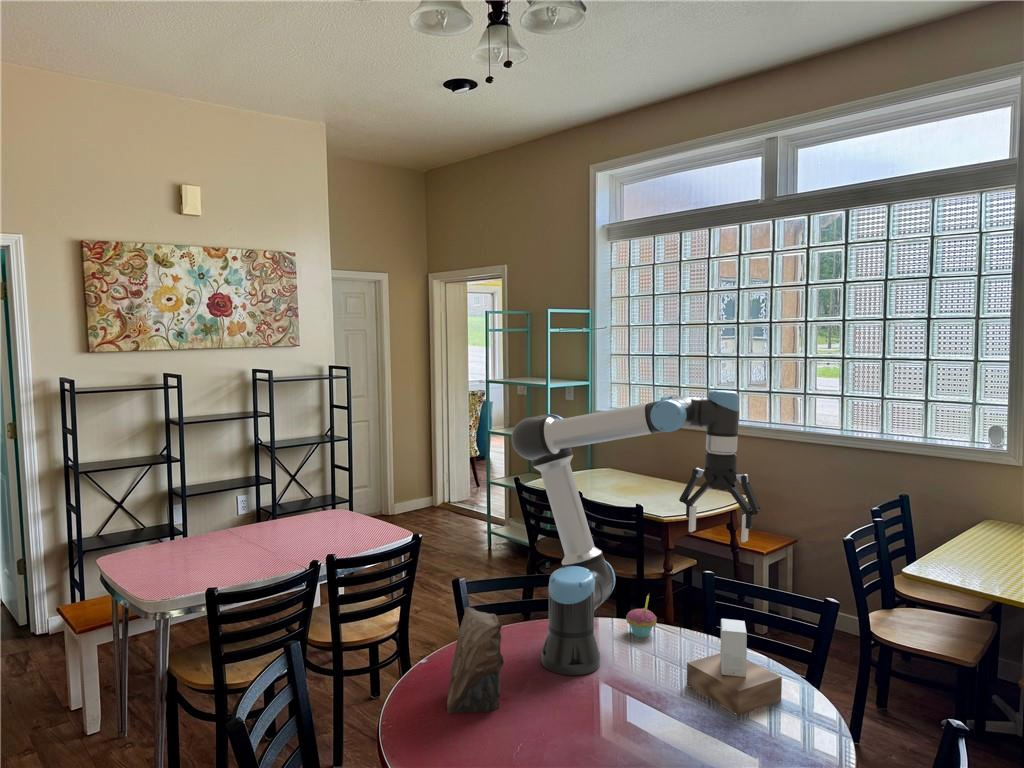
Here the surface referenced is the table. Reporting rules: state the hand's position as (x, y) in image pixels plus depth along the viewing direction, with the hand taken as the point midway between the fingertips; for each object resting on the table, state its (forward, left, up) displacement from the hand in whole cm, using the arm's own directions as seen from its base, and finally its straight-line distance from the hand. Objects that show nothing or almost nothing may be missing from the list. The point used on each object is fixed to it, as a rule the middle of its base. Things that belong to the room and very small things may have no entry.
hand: (717, 536), depth 173 cm
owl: (-36, -53, -34) cm, 72 cm away
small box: (+8, -9, -29) cm, 31 cm away
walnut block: (+8, -9, -35) cm, 37 cm away
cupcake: (-25, +7, -34) cm, 43 cm away
